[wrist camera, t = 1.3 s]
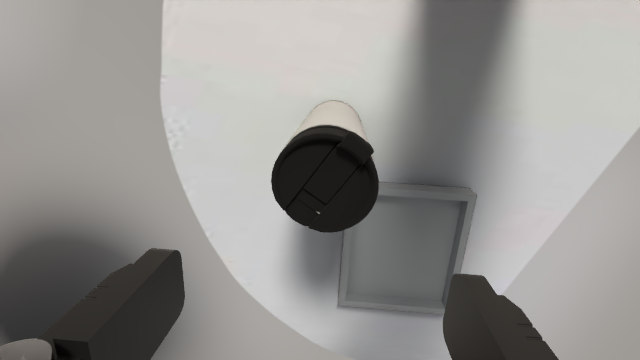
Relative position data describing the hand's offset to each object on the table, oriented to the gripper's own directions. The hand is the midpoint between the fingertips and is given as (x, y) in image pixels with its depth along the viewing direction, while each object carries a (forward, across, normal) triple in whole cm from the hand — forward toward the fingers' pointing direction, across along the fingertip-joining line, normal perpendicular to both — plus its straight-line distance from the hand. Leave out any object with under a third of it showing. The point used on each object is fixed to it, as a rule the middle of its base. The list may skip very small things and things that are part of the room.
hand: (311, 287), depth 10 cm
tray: (+29, -9, +14) cm, 33 cm away
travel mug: (+29, 0, 0) cm, 29 cm away
